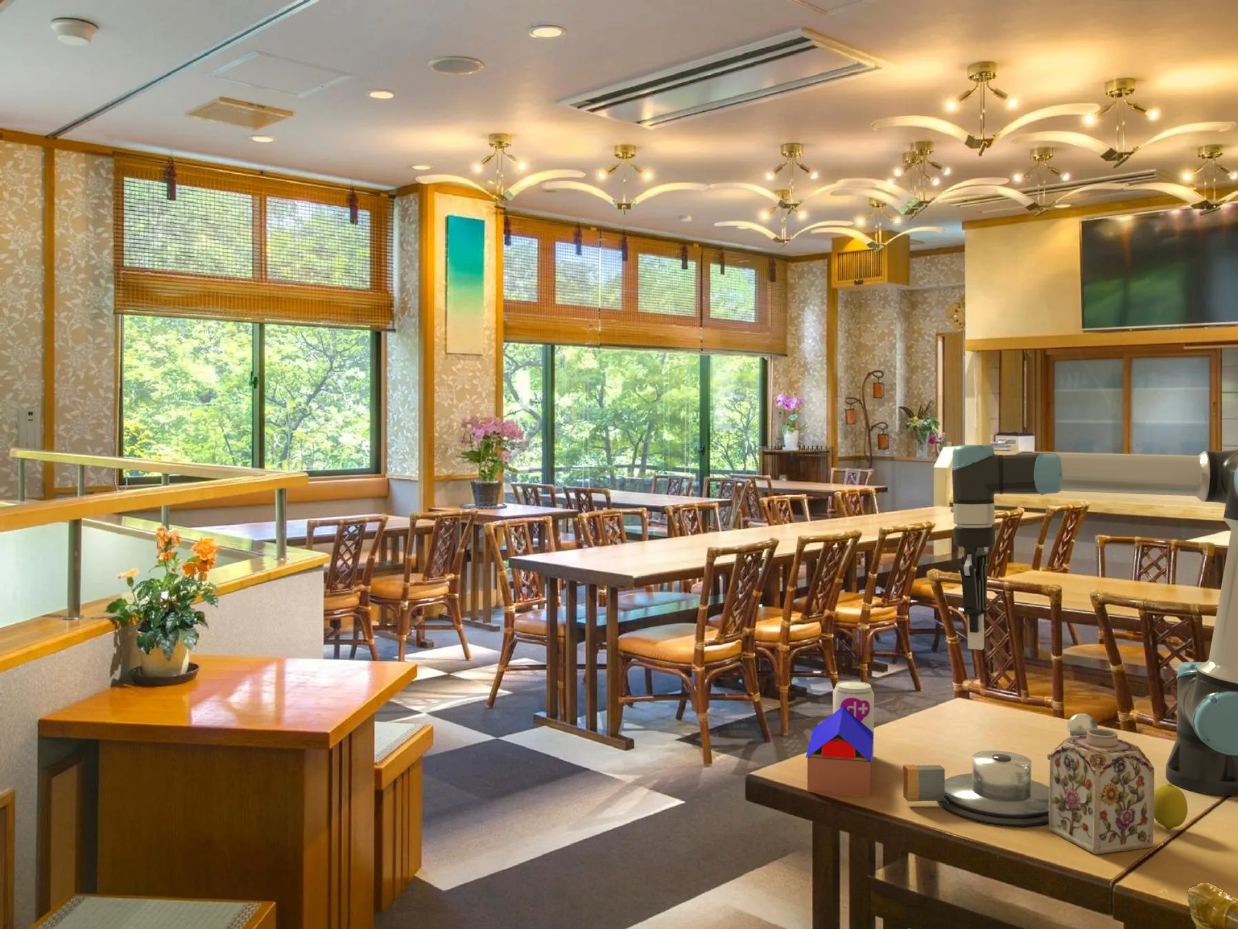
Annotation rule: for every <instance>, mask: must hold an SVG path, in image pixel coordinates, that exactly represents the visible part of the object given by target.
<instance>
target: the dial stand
mask: <svg viewBox="0 0 1238 929" xmlns="http://www.w3.org/2000/svg"><path fill="white" fill-rule="evenodd" d="M1066 725H1067V726H1066V727H1067V728H1066V729H1067V733H1068V734H1069V735H1070V736H1069V737H1072V736H1082V735H1087V731H1088V730H1090V729H1099V727H1098V723H1097V722H1096V720H1095V719H1094V718H1093V717H1092V716H1090V715H1089V714H1087V713H1076V714H1074V715H1072V716H1071V717H1070V718H1069V720H1068V721H1067V724H1066ZM1050 754H1051V753H1050ZM1050 754H1049V753H1048V754H1047V760H1048V761H1050Z"/></svg>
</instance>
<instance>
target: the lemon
mask: <svg viewBox="0 0 1238 929" xmlns="http://www.w3.org/2000/svg"><path fill="white" fill-rule="evenodd" d="M1187 817H1188V802H1187V798H1186V796H1185V794H1184V792H1183V791H1182V790H1181V789H1179V788H1178V786H1176V785H1174V784H1173V783H1171V782H1167V783H1166V784H1162V785H1160V786H1157V788H1155V789H1154V821H1156V822H1157V823H1158V824H1160V825H1161V826H1163V828H1165V830H1167V831H1172V830H1173V829H1174V828H1177V827H1179V826H1182V824H1183V823H1184V822H1185V821H1186V819H1187Z"/></svg>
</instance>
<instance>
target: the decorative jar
mask: <svg viewBox="0 0 1238 929" xmlns="http://www.w3.org/2000/svg"><path fill="white" fill-rule="evenodd" d="M1048 780H1049V782H1048V784H1049V785H1048V787H1049V825H1048V830H1049V831H1050V832H1052V833H1055V834H1056V835H1058V836H1059V837H1061V838H1063V839H1065V840H1067V841H1068V842H1070V843H1073V844H1074V845H1076V846H1078V847H1080V848H1081V849H1083V850H1086V851H1087V852H1089V853H1091V854H1093V855H1095V856H1097V855H1105V854H1111V853H1118V852H1126V851H1133V850H1134V851H1136V850H1140V849H1141V850H1143V849H1149V848H1153V847H1154V838H1155V837H1154V835H1155V834H1154V831H1155V818H1154V791H1155V767H1154V765H1153V764H1152V762H1151V761H1150V760H1149V758H1148V757H1147V755H1146V754H1145V753H1144V752H1143V751H1142V749H1141V748H1140V747H1139V746H1138V745H1136V744H1134V743H1131V742H1128V741H1126V740H1123V739H1119V736H1118V733H1117V731H1114V730H1111V729H1106V728H1098V729H1090V730H1088V731H1087V735H1082V736H1072V737H1071V736H1069V737H1067V738H1065V739H1064V740H1063V741H1062V742H1061V743H1059V744H1058V746H1056V747H1055V748H1054V749H1053V750H1052V751H1051V753H1050V760H1049V779H1048Z"/></svg>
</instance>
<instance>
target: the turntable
mask: <svg viewBox="0 0 1238 929" xmlns="http://www.w3.org/2000/svg"><path fill="white" fill-rule="evenodd" d="M945 771H946V769H945V767H943V766H942V765H941V764H924V765H923V764H922V765H920V764H919V765H916V764H903V773H902V774H903V776H902V777H903V782H902V783H903V785H902V788H903V789H902V791H903V792H902V793H903V794H902V795H903V796H902V797H903V798H904V799H905V800H906V801H907V802H912V803H913V802H937V801H944V800H945V799H946V800H947V801H949V802H950V803H952V804H954V805H956V806H958V807H961V808H963V809H966V810H969V811H973V812H977V813H981V814H986V815H992V816H999V817H1012V818H1027V817H1038V816H1043V815H1047V814H1049V785H1046V784H1044V783H1042V782H1039V781H1036V780H1032V779H1031V797H1030V798H1029V799H1026V800H1023V801H1014V802H1008V801H997V800H992V799H988V798H984V797H982V796H979V795H977V794H976V793H974V792H973V790H972V772H969V773H962V774H957V775H952V776H951V777H948V778H946V776H945V775H946V772H945Z"/></svg>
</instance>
